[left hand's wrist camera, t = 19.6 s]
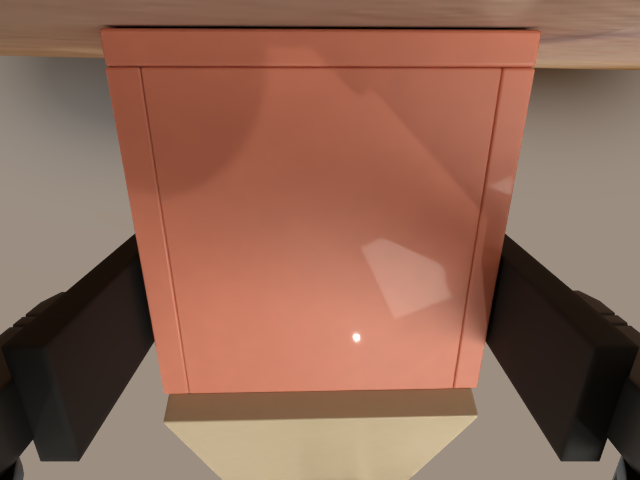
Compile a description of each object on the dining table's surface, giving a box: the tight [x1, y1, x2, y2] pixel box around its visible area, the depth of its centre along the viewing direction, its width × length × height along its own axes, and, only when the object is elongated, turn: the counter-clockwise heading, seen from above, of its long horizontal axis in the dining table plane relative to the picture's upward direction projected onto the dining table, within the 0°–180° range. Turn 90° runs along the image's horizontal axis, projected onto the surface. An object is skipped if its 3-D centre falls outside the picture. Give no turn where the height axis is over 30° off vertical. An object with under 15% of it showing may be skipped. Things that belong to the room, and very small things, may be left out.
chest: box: [100, 28, 541, 394], centre depth 17 cm, size 14×9×9 cm, turn 178°
